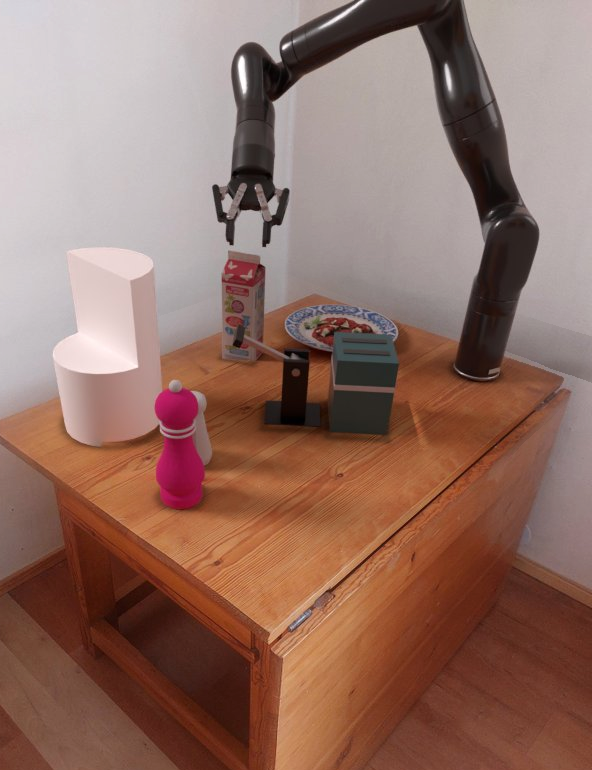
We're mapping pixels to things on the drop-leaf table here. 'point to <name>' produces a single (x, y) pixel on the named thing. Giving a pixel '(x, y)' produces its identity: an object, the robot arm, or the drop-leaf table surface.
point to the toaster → (362, 383)
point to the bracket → (294, 395)
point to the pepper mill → (178, 448)
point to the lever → (259, 345)
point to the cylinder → (110, 347)
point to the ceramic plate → (335, 324)
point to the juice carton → (242, 303)
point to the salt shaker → (201, 431)
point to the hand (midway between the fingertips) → (247, 243)
